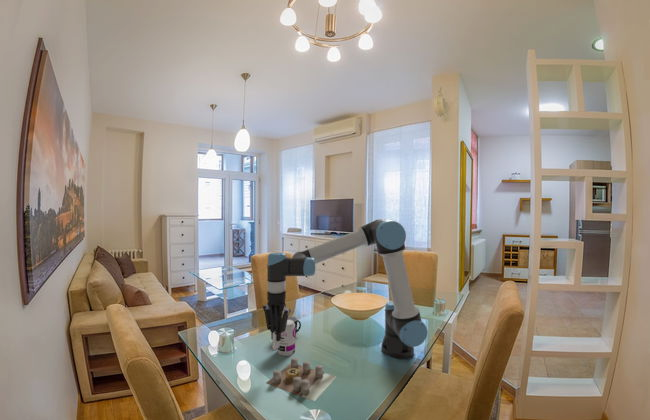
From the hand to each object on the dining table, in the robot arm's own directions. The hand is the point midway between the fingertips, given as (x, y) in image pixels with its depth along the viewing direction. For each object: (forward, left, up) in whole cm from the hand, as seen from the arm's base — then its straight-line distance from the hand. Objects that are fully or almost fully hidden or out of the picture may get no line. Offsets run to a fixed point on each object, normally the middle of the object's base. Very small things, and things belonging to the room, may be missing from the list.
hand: (275, 347), depth 120 cm
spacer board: (-12, -1, -11) cm, 17 cm away
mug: (+15, -31, -12) cm, 36 cm away
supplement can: (+7, -16, -12) cm, 21 cm away
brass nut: (-8, 0, -10) cm, 13 cm away
